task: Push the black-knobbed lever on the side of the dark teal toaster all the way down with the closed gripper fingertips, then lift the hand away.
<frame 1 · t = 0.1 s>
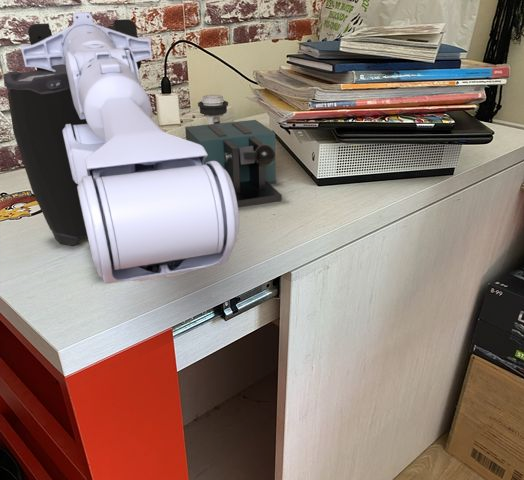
hand: (81, 37, 69), 22 cm above the table, tool horizontal, fingers open, 7 cm apart
toaster lever: (253, 155, 76), point 7 cm above the table, hinge at 15.0°
portable speaker: (85, 234, 72), on the table, touching arm
lever bracket: (245, 194, 83), on the table
push button: (217, 155, 101), on the table
toaster body: (231, 180, 89), on the table
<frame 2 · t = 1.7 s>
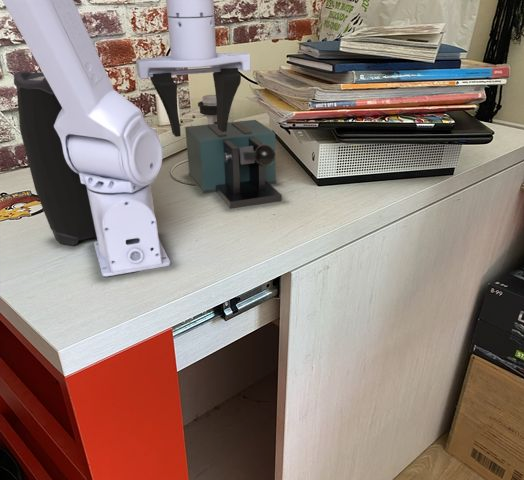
hand: (199, 132, 74), 10 cm above the table, tool pointing down, fingers open, 6 cm apart
portable speaker: (85, 235, 72), on the table
everything else where it was.
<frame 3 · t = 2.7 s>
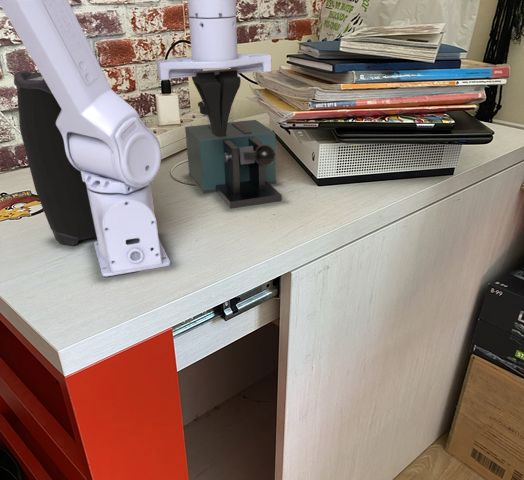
hand: (219, 134, 73), 10 cm above the table, tool pointing down, fingers closed
nothing on the table moved.
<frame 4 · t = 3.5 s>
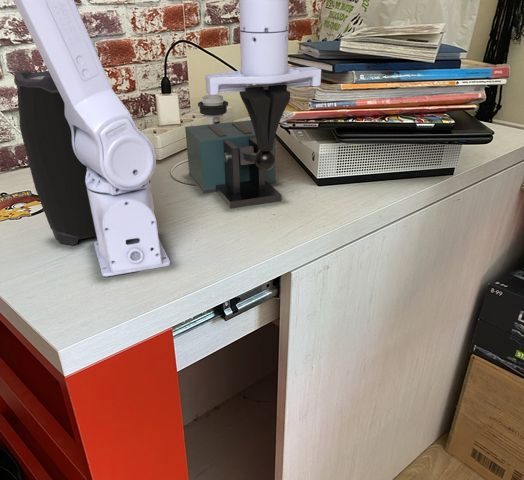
hand: (264, 149, 71), 9 cm above the table, tool pointing down, fingers closed
toaster lever: (254, 157, 76), point 7 cm above the table, hinge at 11.5°
portable speaker: (85, 235, 72), on the table, touching arm
everything else where it was.
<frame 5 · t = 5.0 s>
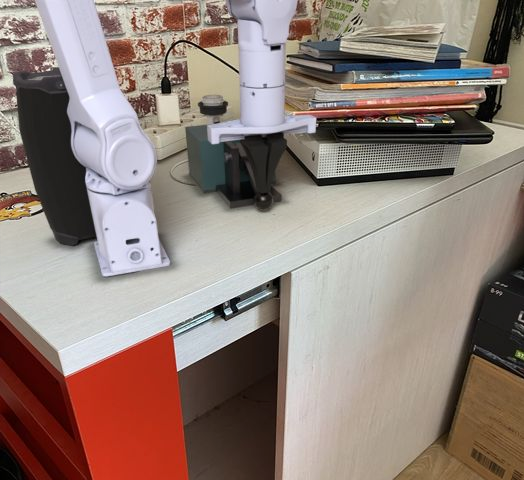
hand: (263, 190, 75), 3 cm above the table, tool pointing down, fingers closed, pressing on toaster lever
toaster lever: (253, 177, 78), point 4 cm above the table, hinge at -26.8°, touching gripper
everything else where it was.
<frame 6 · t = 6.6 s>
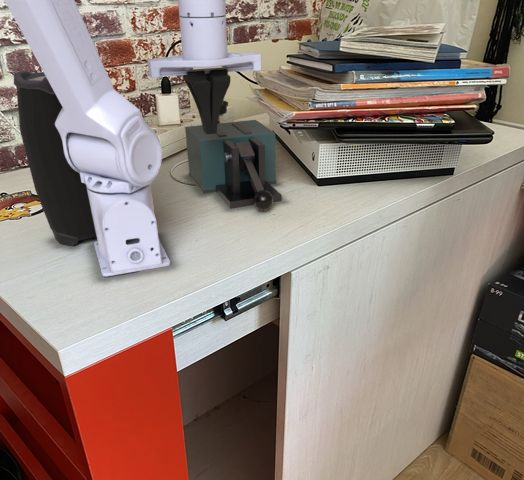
hand: (210, 132, 74), 10 cm above the table, tool pointing down, fingers closed
toaster lever: (253, 177, 78), point 4 cm above the table, hinge at -26.9°
portable speaker: (85, 235, 72), on the table
everything else where it was.
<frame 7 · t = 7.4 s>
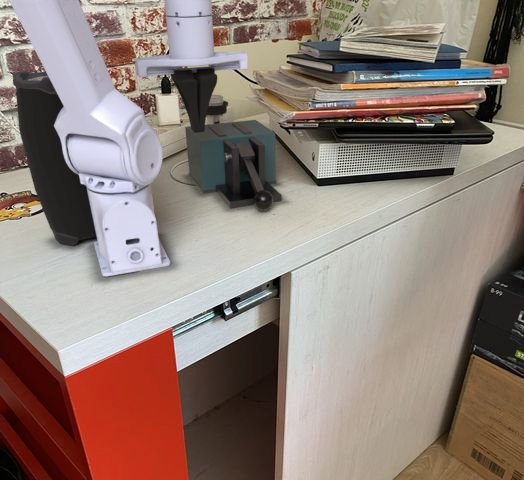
hand: (197, 130, 74), 10 cm above the table, tool pointing down, fingers closed
portable speaker: (85, 235, 72), on the table, touching arm
everything else where it was.
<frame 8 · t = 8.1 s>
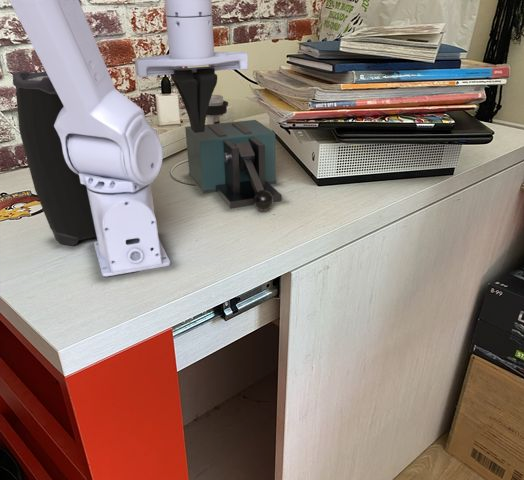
hand: (197, 130, 74), 10 cm above the table, tool pointing down, fingers closed
nothing on the table moved.
at the end: toaster lever at -27° (first picture: +15°); toaster lever reached -27° during the clip, -27° at the end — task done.
